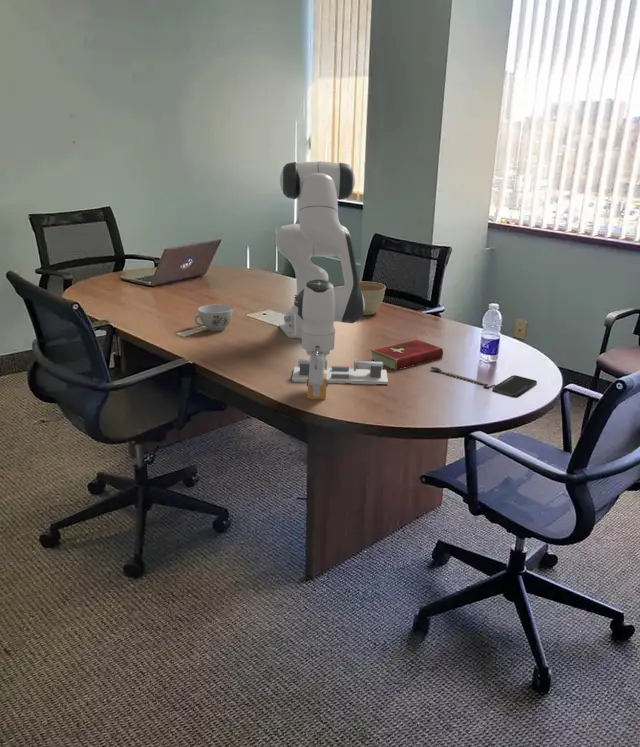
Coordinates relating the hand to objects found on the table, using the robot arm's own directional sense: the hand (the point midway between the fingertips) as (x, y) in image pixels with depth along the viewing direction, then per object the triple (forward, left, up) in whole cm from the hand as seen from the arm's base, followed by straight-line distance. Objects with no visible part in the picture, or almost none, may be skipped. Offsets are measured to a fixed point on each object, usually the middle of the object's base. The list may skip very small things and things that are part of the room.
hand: (317, 388), depth 184 cm
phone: (+19, +56, -3) cm, 59 cm away
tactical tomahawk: (+6, +47, -3) cm, 47 cm away
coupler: (0, 0, -2) cm, 2 cm away
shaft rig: (-10, +13, -2) cm, 16 cm away
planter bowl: (-70, +58, -2) cm, 91 cm away
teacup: (-72, -5, -2) cm, 72 cm away
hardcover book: (-15, +41, -3) cm, 44 cm away
